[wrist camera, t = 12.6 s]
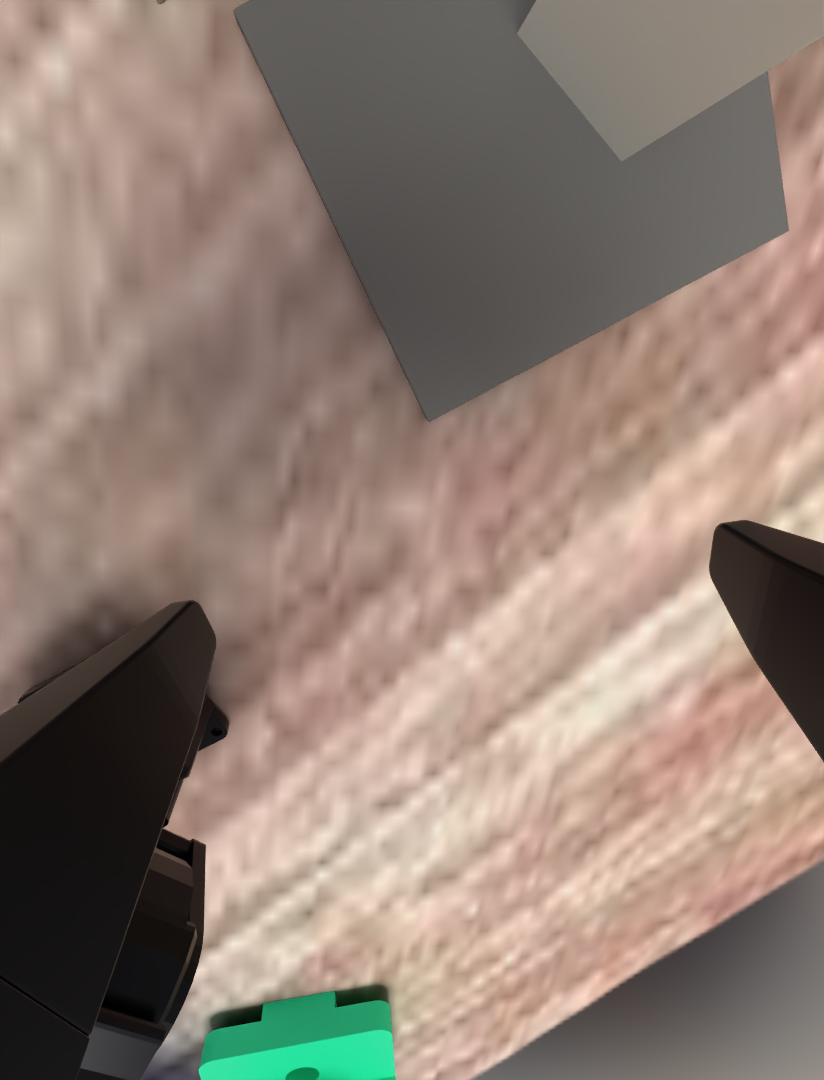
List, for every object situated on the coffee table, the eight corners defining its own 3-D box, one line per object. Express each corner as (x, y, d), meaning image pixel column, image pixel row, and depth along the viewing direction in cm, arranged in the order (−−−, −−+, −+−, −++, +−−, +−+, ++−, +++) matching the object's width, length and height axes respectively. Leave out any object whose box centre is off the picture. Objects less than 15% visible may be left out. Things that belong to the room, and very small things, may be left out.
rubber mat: (426, 419, 20) (429, 421, 19) (237, 22, 15) (233, 9, 14) (775, 233, 19) (788, 230, 18) (705, -257, 14) (719, -282, 13)
